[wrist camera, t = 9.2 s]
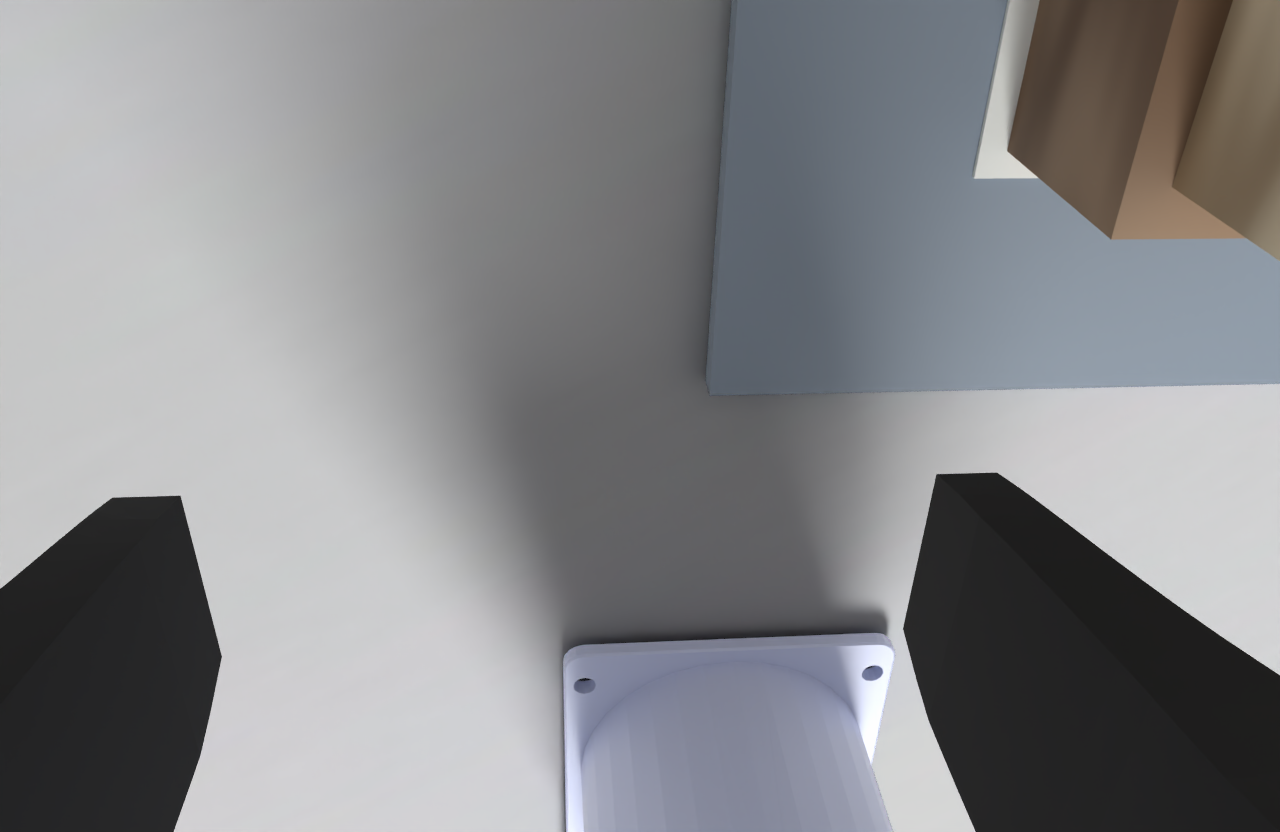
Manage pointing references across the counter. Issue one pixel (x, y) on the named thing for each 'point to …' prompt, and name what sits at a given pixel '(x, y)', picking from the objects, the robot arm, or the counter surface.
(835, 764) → the robot arm
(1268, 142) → the oak block
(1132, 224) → the walnut block
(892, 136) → the board
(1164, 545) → the counter surface
